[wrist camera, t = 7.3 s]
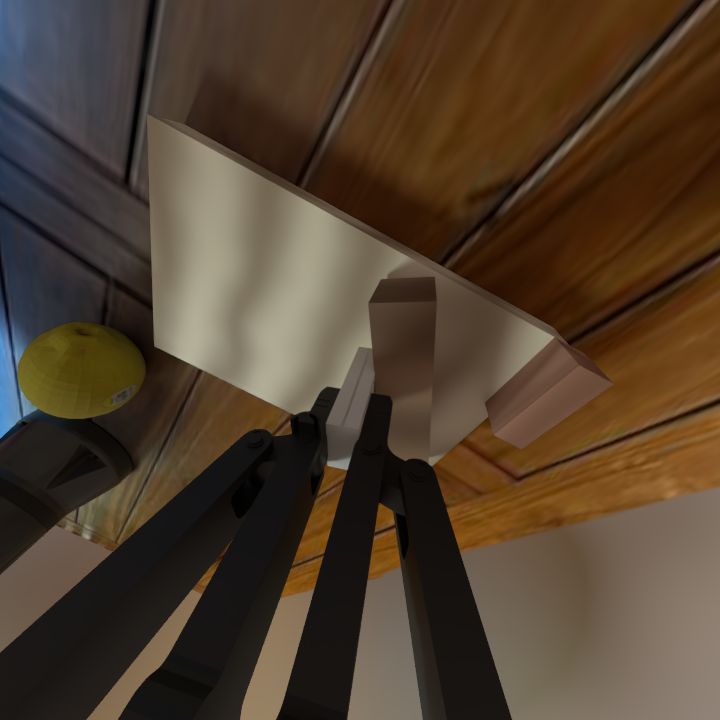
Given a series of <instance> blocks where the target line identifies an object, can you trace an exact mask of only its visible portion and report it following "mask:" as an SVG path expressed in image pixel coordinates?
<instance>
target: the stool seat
mask: <svg viewBox="0 0 720 720" xmlns="http://www.w3.org/2000/svg"><path fill="white" fill-rule="evenodd" d="M147 134H148V165H149V197H150V228H151V259H152V290H153V322H154V346H155V347H157V348H159V349H161V350H163V351H165V352H167V353H169V354H171V355H173V356H175V357H177V358H179V359H181V360H183V361H185V362H187V363H190V364H192V365H194V366H196V367H198V368H200V369H202V370H204V371H206V372H208V373H210V374H212V375H214V376H216V377H218V378H220V379H222V380H224V381H226V382H228V383H230V384H233V385H235V386H237V387H239V388H241V389H243V390H245V391H247V392H249V393H251V394H253V395H255V396H257V397H259V398H261V399H263V400H265V401H267V402H269V403H271V404H273V405H275V406H278V407H280V408H282V409H284V410H286V411H288V412H290V413H292V414H294V415H296V414H298V413H300V412H304V411H310V410H311V408H312V406H313V405H314V403H315V401H316V400H317V397H318V395H319V393H320V392H321V391H322V390H323V389H324V388H326V387H327V386H328V387H334V388H340V389H341V387H342V385H343V382H344V380H345V378H346V375H347V373H348V371H349V368H350V366H351V364H352V361H353V359H354V357H355V355H356V352H357V350H358V348H359V347H365V348H372V342H371V330H370V319H369V307H368V303H369V301H370V299H371V297H372V295H373V293H374V291H375V289H376V287H377V285H378V284H379V282H380V280H381V279H397V278H419V277H435V285H436V296H437V311H436V331H435V350H434V369H433V389H432V408H431V428H430V447H429V465H430V466H433V465H434V464H435V463H436V462H437V461H439V460H440V459H441V458H442V457H443V456H444V455H445V454H447V453H448V452H449V451H450V450H451V449H452V448H453V447H454V446H456V445H457V444H458V443H459V442H460V441H461V440H462V439H464V438H465V437H466V436H467V435H468V434H469V433H470V432H471V431H473V430H474V429H475V428H476V427H477V426H478V425H479V424H481V423H482V422H483V421H484V420H485V419H486V418H487V417H489V420H490V424H491V428H492V431H493V435H494V436H496V437H498V438H500V439H502V440H504V441H506V442H508V443H510V444H512V445H514V446H516V447H518V448H520V449H523V448H524V447H525V446H527V445H528V444H530V443H531V442H532V441H534V440H535V439H537V438H538V437H540V436H541V435H542V434H544V433H545V432H547V431H548V430H549V429H551V428H552V427H554V426H555V425H556V424H558V423H559V422H561V421H562V420H564V419H565V418H566V417H568V416H569V415H571V414H572V413H573V412H575V411H576V410H578V409H579V408H580V407H582V406H583V405H585V404H586V403H588V402H589V401H590V400H592V399H593V398H595V397H596V396H597V395H599V394H600V393H602V392H603V391H604V390H606V389H607V388H609V387H610V386H612V385H613V383H612V382H611V381H610V380H609V378H608V377H607V376H606V375H605V374H604V373H603V372H602V371H601V370H600V369H599V368H598V367H597V366H596V365H595V364H594V363H593V362H592V361H591V360H590V359H589V358H588V357H587V356H586V355H585V354H584V353H583V352H581V351H579V350H577V349H575V348H574V347H572V346H570V345H569V344H568V343H567V342H566V341H565V340H564V339H563V338H562V337H561V336H560V335H559V334H558V332H557V331H556V330H555V329H554V328H553V327H552V326H550V325H548V324H546V323H544V322H542V321H541V320H539V319H537V318H535V317H533V316H532V315H530V314H528V313H526V312H524V311H522V310H521V309H519V308H517V307H515V306H513V305H512V304H510V303H508V302H506V301H504V300H503V299H501V298H499V297H497V296H495V295H493V294H492V293H490V292H488V291H486V290H484V289H483V288H481V287H479V286H477V285H475V284H473V283H472V282H470V281H468V280H466V279H464V278H463V277H461V276H459V275H457V274H455V273H454V272H452V271H450V270H448V269H446V268H444V267H443V266H441V265H439V264H437V263H435V262H434V261H432V260H430V259H428V258H426V257H424V256H423V255H421V254H419V253H417V252H415V251H414V250H412V249H410V248H408V247H406V246H404V245H403V244H401V243H399V242H397V241H395V240H394V239H392V238H390V237H388V236H386V235H385V234H383V233H381V232H379V231H377V230H375V229H374V228H372V227H370V226H368V225H366V224H365V223H363V222H361V221H359V220H357V219H355V218H354V217H352V216H350V215H348V214H346V213H345V212H343V211H341V210H339V209H337V208H335V207H334V206H332V205H330V204H328V203H326V202H325V201H323V200H321V199H319V198H317V197H316V196H314V195H312V194H310V193H308V192H306V191H305V190H303V189H301V188H299V187H297V186H296V185H294V184H292V183H290V182H288V181H286V180H285V179H283V178H281V177H279V176H277V175H276V174H274V173H272V172H270V171H268V170H267V169H265V168H263V167H261V166H259V165H257V164H256V163H254V162H252V161H250V160H248V159H247V158H245V157H243V156H241V155H239V154H237V153H236V152H234V151H232V150H230V149H228V148H227V147H225V146H223V145H221V144H219V143H217V142H216V141H214V140H212V139H210V138H208V137H207V136H205V135H203V134H201V133H199V132H198V131H196V130H194V129H192V128H190V127H188V126H187V125H185V124H182V123H179V122H175V121H172V120H168V119H165V118H161V117H157V116H154V115H150V114H147Z"/></svg>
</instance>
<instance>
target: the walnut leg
mask: <svg viewBox="0 0 720 720" xmlns="http://www.w3.org/2000/svg"><path fill="white" fill-rule="evenodd" d="M368 307H369V319H370V330H371V342H372V353H373V365H374V372H375V388H376V394H381V395H387V396H390V397H391V400H392V402H393V407H392V414H391V421H390V428H389V435H388V447H389V449H390V450H391V452H392V453H393V454H394V455H396V456H397V457H399V458H401V459H403V460H405V461H406V460H408V459H412V458H416V459H421V460H423V461H426V462H427V463H428V464H429V447H430V428H431V408H432V389H433V369H434V350H435V331H436V311H437V296H436V285H435V277H419V278H397V279H381V280H380V282H379V284H378V285H377V287H376V289H375V291H374V293H373V295H372V297H371V299H370V301H369V303H368Z"/></svg>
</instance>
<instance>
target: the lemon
mask: <svg viewBox="0 0 720 720" xmlns="http://www.w3.org/2000/svg"><path fill="white" fill-rule="evenodd" d="M145 373H146V366H145V361H144V358H143V356H142V354H141V352H140V350H139V349H138V348H137V346H136V345H135V344H134V343H133V342H132V341H131V340H130V339H128V338H127V337H126V336H125V335H124V334H122V333H120V332H119V331H117V330H115V329H113V328H110V327H107V326H104V325H100V324H95V323H87V322H72V323H66V324H63V325H60V326H57V327H55V328H53V329H50V330H48V331H46V332H44V333H43V334H41V335H39V336H38V337H36V338H35V339H34V340H33V341H32V342H31V343H30V344H29V345H28V346H27V348H26V349H25V351H24V353H23V355H22V357H21V359H20V361H19V364H18V377H17V379H18V382H19V385H20V388H21V390H22V392H23V393H24V395H25V397H26V398H27V399H28V400H29V401H30V402H31V403H32V404H33V405H34V406H35V407H37V408H38V409H40V410H41V411H43V412H45V413H47V414H50V415H53V416H56V417H62V418H68V419H84V418H90V417H95V416H99V415H103V414H107V413H110V412H112V411H114V410H116V409H118V408H120V407H121V406H122V405H124V404H125V403H126V402H128V401H129V400H130V399H132V397H133V396H134V395H135V394H136V393H137V392H138V390H139V389H140V387H141V385H142V383H143V381H144V378H145Z"/></svg>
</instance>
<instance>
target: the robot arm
mask: <svg viewBox="0 0 720 720" xmlns="http://www.w3.org/2000/svg"><path fill="white" fill-rule="evenodd" d="M392 407H393V402H392V400H391V397H390V396H387V395H381V394H376V388H375V372H374V365H373V353H372V348H365V347H359V348H358V350H357V352H356V355H355V357H354V359H353V361H352V364H351V366H350V368H349V371H348V373H347V375H346V378H345V380H344V382H343V385H342V387H341V389H340V388H334V387H328V386H327V387H326V388H324V389H323V390H322V391H321V392H320V393H319V395H318V397H317V400H316V401H315V403H314V405H313V406H312V408H311V410H310V411H304V412H300V413H298V414H296V415H294V416H293V417H292V418H291V419H290V421H291V428H292V434H289V435H285V436H274V437H272V436H271V433H270V432H268V431H267V430H264V429H255V430H252V431H249V432H248V433H246V434H245V435H243V436H242V437H241V438H240V439H239V440H238V441H237V442H235V443H234V444H233V445H232V446H231V447H230V448H229V449H228V450H226V451H225V452H224V453H223V454H222V455H221V456H220V457H219V458H218V459H216V460H215V461H214V462H213V463H212V464H211V465H210V466H209V467H207V468H206V469H205V470H204V471H203V472H202V473H201V474H200V475H199V476H197V477H196V478H195V479H194V480H193V481H192V482H191V483H190V484H188V485H187V486H186V487H185V488H184V489H183V490H182V491H181V492H179V493H178V494H177V495H176V496H175V497H174V498H173V499H172V500H171V501H169V502H168V503H167V504H166V505H165V506H164V507H163V508H162V509H160V510H159V511H158V512H157V513H156V514H155V515H154V516H153V517H152V518H150V519H149V520H148V521H147V522H146V523H145V524H144V525H143V526H141V527H140V528H139V529H138V530H137V531H136V532H135V533H134V534H132V535H131V536H130V537H129V538H128V539H127V540H126V541H125V542H124V543H122V544H121V545H120V546H119V547H118V548H117V549H116V550H115V551H113V552H112V553H111V554H110V555H109V556H108V557H107V558H106V559H105V560H103V561H102V562H101V563H100V564H99V565H98V566H97V567H96V568H94V569H93V570H92V571H91V572H90V573H89V574H88V575H87V576H85V577H84V578H83V579H82V580H81V581H80V582H79V583H78V584H77V585H76V586H74V587H73V588H72V589H71V590H70V591H69V592H68V593H67V594H65V595H64V596H63V597H62V598H61V599H60V600H59V601H58V602H56V603H55V604H54V605H53V606H52V607H51V608H50V609H49V610H47V611H46V612H45V613H44V614H43V615H42V616H41V617H40V618H39V619H38V620H36V621H35V622H34V623H33V624H32V625H31V626H30V627H28V628H27V629H26V630H25V631H24V632H23V633H22V634H21V635H20V636H19V637H17V638H16V639H15V640H14V641H13V642H12V643H11V644H9V645H8V646H7V647H6V648H5V649H4V650H3V651H2V652H1V653H0V720H86V719H87V718H88V717H89V716H90V715H91V713H92V712H93V711H94V710H95V708H96V707H97V706H98V705H99V704H100V702H101V701H102V700H103V699H104V697H105V696H106V695H107V694H108V692H109V691H110V690H111V689H112V687H113V686H114V685H115V684H116V683H117V681H118V680H119V679H120V678H121V676H122V675H123V674H124V673H125V671H126V670H127V669H128V668H129V666H130V665H131V664H132V663H133V662H134V660H135V659H136V658H137V657H138V655H139V654H140V653H141V652H142V650H143V649H144V648H145V647H146V645H147V644H148V643H149V642H150V641H151V639H152V638H153V637H154V636H155V634H156V633H157V632H158V630H159V629H160V628H161V627H162V626H163V624H164V623H165V622H166V621H167V620H168V618H169V617H170V616H171V614H172V613H173V612H174V611H175V610H176V608H177V607H178V606H179V605H180V603H181V602H182V601H183V600H184V599H185V597H186V596H187V595H188V594H189V592H190V591H191V590H192V589H193V587H194V586H195V585H196V584H197V583H198V581H199V580H200V579H201V578H202V576H203V575H204V574H205V573H206V571H207V570H208V569H209V568H210V566H211V565H212V564H213V563H214V562H215V560H216V559H217V558H218V557H219V555H220V554H221V553H222V552H223V550H224V549H225V548H226V547H227V545H228V544H229V543H230V542H231V541H232V542H231V544H230V546H229V548H228V549H227V551H226V553H225V555H224V557H223V558H222V560H221V562H220V564H219V566H218V567H217V569H216V571H215V573H214V575H213V576H212V578H211V580H210V582H209V584H208V585H207V587H206V589H205V591H204V593H203V594H202V596H201V598H200V600H199V602H198V603H197V605H196V607H195V609H194V611H193V612H192V614H191V616H190V618H189V619H188V621H187V623H186V625H185V627H184V628H183V630H182V632H181V634H180V636H179V637H178V640H177V641H176V643H175V645H174V646H173V648H172V650H171V652H170V653H169V655H168V657H167V658H166V660H165V661H164V662H163V664H162V665H161V666H160V667H159V668H158V669H157V670H156V671H155V672H153V673H152V674H151V675H150V676H149V677H148V678H146V679H145V681H144V682H143V683H142V684H141V686H140V687H139V688H138V689H137V690H136V692H135V693H134V695H133V696H132V698H131V700H130V701H129V702H128V704H127V706H126V707H125V709H124V710H123V712H122V714H121V716H120V717H119V719H118V720H240V715H241V709H242V705H243V701H244V698H245V694H246V692H247V688H248V686H249V683H250V680H251V678H252V675H253V672H254V669H255V666H256V664H257V661H258V658H259V655H260V653H261V650H262V647H263V644H264V641H265V639H266V636H267V633H268V630H269V628H270V625H271V622H272V619H273V616H274V614H275V610H276V608H277V605H278V602H279V600H280V597H281V594H282V591H283V589H284V586H285V583H286V580H287V578H288V575H289V572H290V569H291V566H292V564H293V561H294V558H295V555H296V553H297V550H298V547H299V544H300V541H301V539H302V536H303V533H304V530H305V528H306V525H307V522H308V519H309V516H310V514H311V511H312V508H313V505H314V502H315V500H316V497H317V494H318V491H319V489H320V486H321V483H322V480H323V477H324V467H325V464H326V461H327V465H328V466H331V467H336V468H341V469H345V470H347V474H346V477H345V481H344V484H343V488H342V492H341V495H340V499H339V503H338V506H337V510H336V513H335V517H334V521H333V524H332V528H331V531H330V535H329V539H328V542H327V546H326V549H325V553H324V557H323V560H322V564H321V568H320V571H319V575H318V578H317V582H316V586H315V589H314V593H313V596H312V600H311V604H310V607H309V611H308V614H307V618H306V622H305V625H304V629H303V633H302V636H301V640H300V643H299V647H298V651H297V654H296V658H295V661H294V665H293V669H292V673H291V676H290V680H289V683H288V687H287V691H286V695H285V697H284V701H283V704H282V707H281V710H280V712H279V714H278V717H277V719H276V720H347V717H348V710H349V703H350V696H351V689H352V682H353V676H354V668H355V662H356V655H357V648H358V641H359V635H360V627H361V621H362V614H363V607H364V600H365V593H366V587H367V580H368V573H369V566H370V559H371V552H372V546H373V539H374V532H375V525H376V518H377V511H378V504H379V503H381V504H383V505H384V506H386V507H388V508H389V509H391V510H392V511H393V513H394V520H395V527H396V534H397V541H398V548H399V555H400V562H401V569H402V576H403V583H404V590H405V597H406V604H407V611H408V618H409V625H410V632H411V639H412V646H413V653H414V660H415V667H416V674H417V681H418V688H419V695H420V702H421V709H422V716H423V720H512V718H511V715H510V712H509V709H508V705H507V703H506V699H505V696H504V693H503V689H502V686H501V683H500V680H499V676H498V673H497V670H496V667H495V664H494V660H493V658H492V654H491V651H490V648H489V645H488V641H487V638H486V635H485V632H484V628H483V625H482V622H481V619H480V615H479V612H478V609H477V606H476V603H475V599H474V596H473V593H472V590H471V587H470V583H469V580H468V577H467V574H466V570H465V567H464V564H463V561H462V558H461V554H460V551H459V548H458V545H457V541H456V538H455V535H454V532H453V529H452V525H451V522H450V519H449V516H448V513H447V509H446V506H445V503H444V500H443V496H442V493H441V490H440V487H439V484H438V480H437V477H436V474H435V472H434V470H433V468H432V466H430V465H429V464H428V463H427V462H426V461H423V460H421V459H416V458H412V459H408V460H406V461H405V460H403V459H401V458H399V457H397V456H396V455H394V454H393V453H392V452H391V450H390V449H389V447H388V435H389V428H390V421H391V414H392ZM131 471H132V462H131V460H130V458H129V456H128V455H127V453H126V452H125V451H124V449H123V448H122V447H121V446H120V445H119V444H118V443H117V442H116V441H115V440H114V439H113V438H112V437H111V436H109V435H108V434H107V433H106V432H104V431H103V430H102V429H100V428H99V427H97V426H96V425H94V424H93V423H91V422H90V421H88V420H86V419H68V418H62V417H56V416H53V415H50V414H47V413H45V412H43V411H41V410H40V409H37V410H36V411H34V412H32V413H30V414H29V415H27V416H25V417H23V418H22V419H21V420H19V421H18V422H17V423H16V425H15V426H13V427H12V428H11V429H10V430H9V431H8V432H7V433H6V434H5V435H4V436H3V437H2V438H1V439H0V575H1V574H2V573H3V572H4V571H5V570H6V569H7V568H8V567H9V566H11V565H12V564H13V563H14V562H15V561H16V560H17V559H18V558H19V557H20V556H21V555H23V554H24V553H25V552H26V551H27V550H28V549H29V548H30V547H32V545H34V544H35V543H36V542H37V541H38V540H39V539H40V538H41V537H43V536H44V535H45V534H46V533H47V532H48V531H49V530H50V529H51V528H52V527H54V526H55V525H56V524H57V523H58V522H59V521H60V520H61V519H63V518H64V517H65V516H66V515H68V514H69V513H71V512H72V511H74V510H76V509H78V508H79V507H81V506H83V505H84V504H86V503H88V502H90V501H91V500H93V499H95V498H96V497H98V496H100V495H102V494H103V493H105V492H107V491H108V490H110V489H112V488H113V487H115V486H117V485H118V484H119V483H120V482H121V481H122V480H124V479H125V478H126V477H127V476H128V475H129V474H130V473H131ZM233 538H234V539H233ZM232 539H233V540H232Z"/></svg>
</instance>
